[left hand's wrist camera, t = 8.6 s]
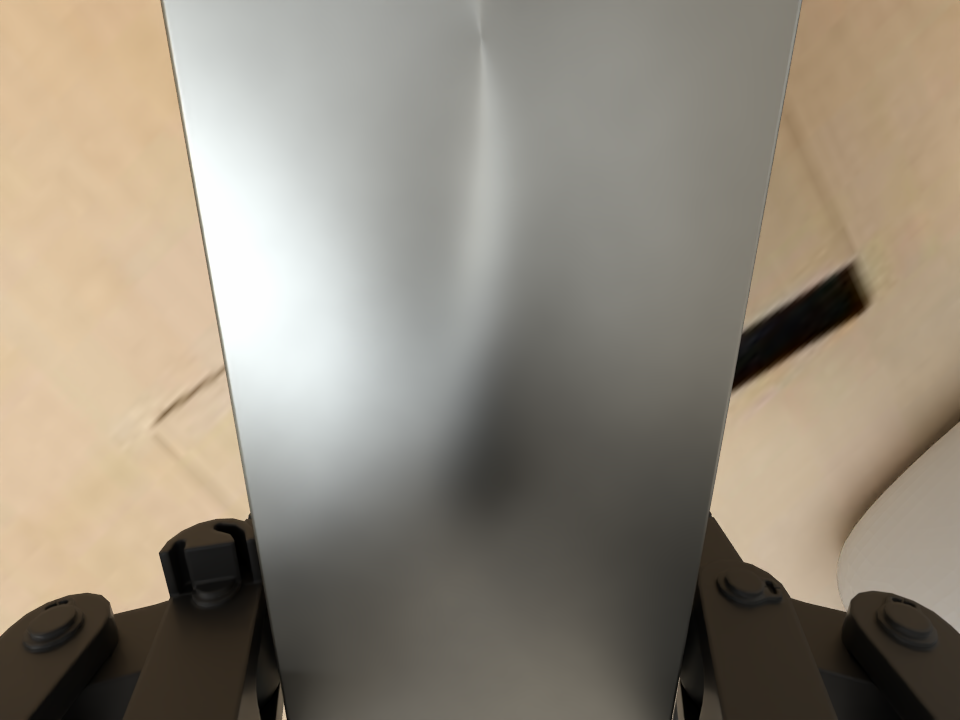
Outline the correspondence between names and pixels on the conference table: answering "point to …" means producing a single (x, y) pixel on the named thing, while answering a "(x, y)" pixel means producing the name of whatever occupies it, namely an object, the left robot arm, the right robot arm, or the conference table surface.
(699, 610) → the left robot arm
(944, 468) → the projector
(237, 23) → the bar
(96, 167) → the conference table surface
